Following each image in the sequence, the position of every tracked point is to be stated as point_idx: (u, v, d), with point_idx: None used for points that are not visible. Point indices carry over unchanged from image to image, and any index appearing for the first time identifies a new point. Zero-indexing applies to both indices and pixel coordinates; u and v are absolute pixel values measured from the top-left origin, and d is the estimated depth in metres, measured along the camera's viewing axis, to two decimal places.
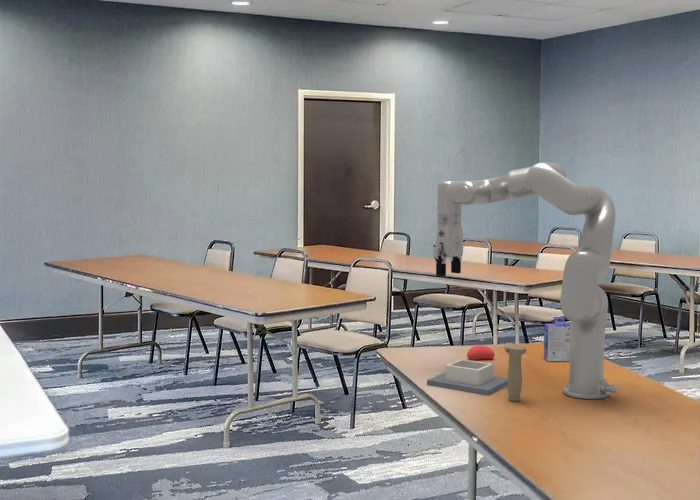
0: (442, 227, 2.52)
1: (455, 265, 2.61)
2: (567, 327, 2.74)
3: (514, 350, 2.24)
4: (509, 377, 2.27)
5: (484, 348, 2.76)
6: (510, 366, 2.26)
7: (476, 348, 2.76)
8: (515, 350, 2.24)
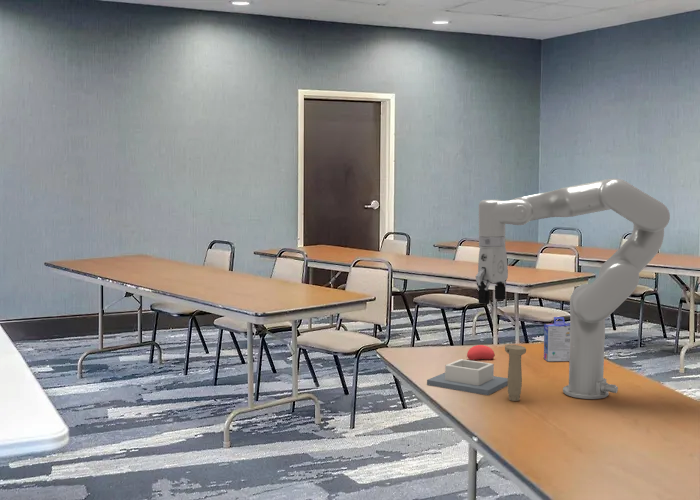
0: (484, 250, 2.31)
1: (499, 291, 2.40)
2: (567, 327, 2.74)
3: (514, 350, 2.24)
4: (509, 377, 2.27)
5: (484, 348, 2.76)
6: (510, 366, 2.26)
7: (476, 348, 2.76)
8: (515, 350, 2.24)
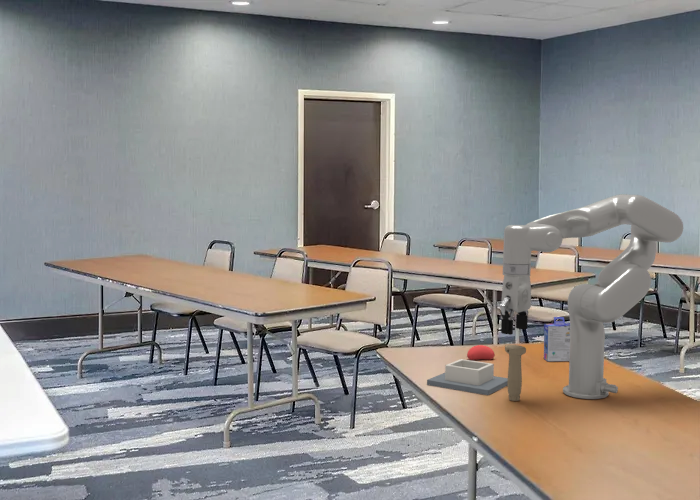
0: (509, 278, 2.21)
1: (521, 320, 2.30)
2: (567, 327, 2.74)
3: (514, 350, 2.24)
4: (509, 377, 2.27)
5: (484, 348, 2.76)
6: (510, 366, 2.26)
7: (476, 348, 2.76)
8: (515, 350, 2.24)
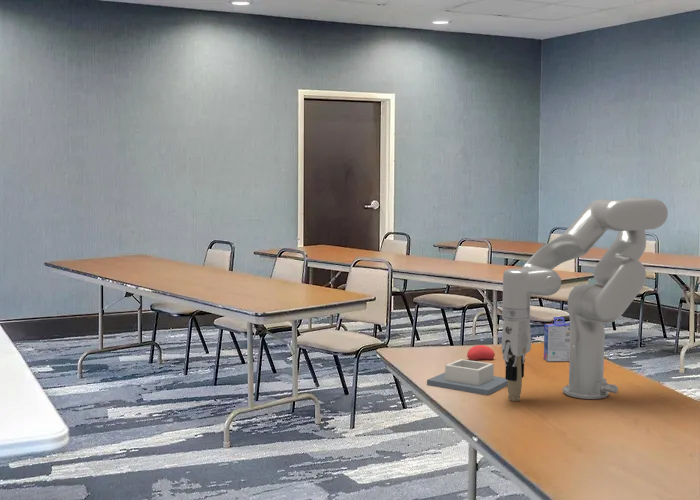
0: (509, 323, 2.22)
1: None
2: (567, 327, 2.74)
3: None
4: None
5: (484, 348, 2.76)
6: None
7: (476, 348, 2.76)
8: None
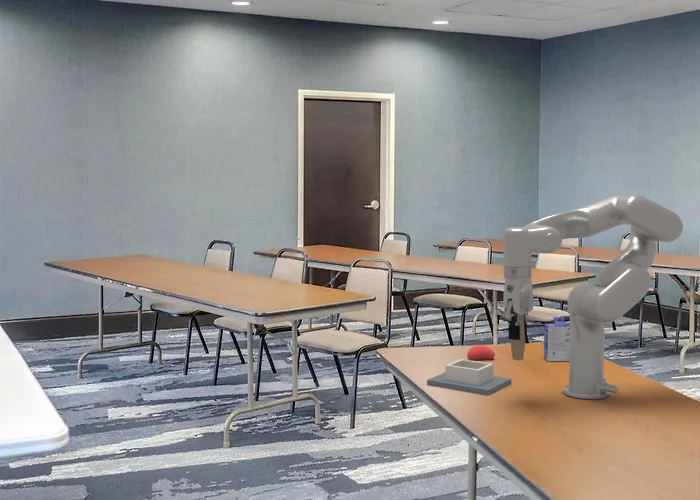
0: (511, 281, 2.21)
1: None
2: (567, 327, 2.74)
3: None
4: None
5: (484, 348, 2.76)
6: None
7: (476, 348, 2.76)
8: None
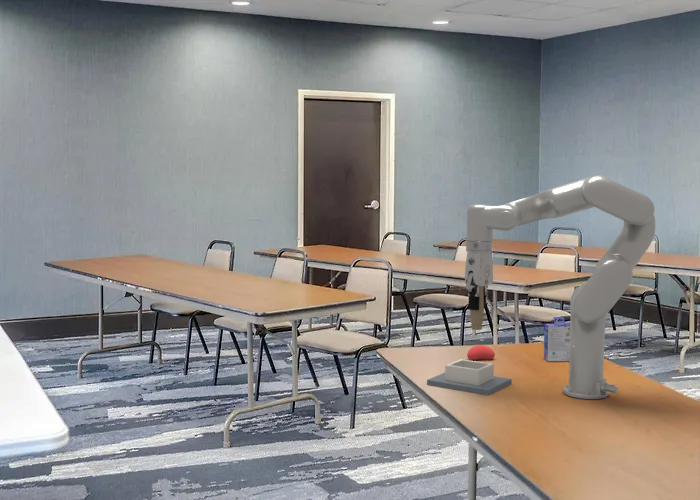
0: (472, 254, 2.34)
1: None
2: (567, 327, 2.74)
3: None
4: None
5: (484, 348, 2.76)
6: None
7: (476, 348, 2.76)
8: None
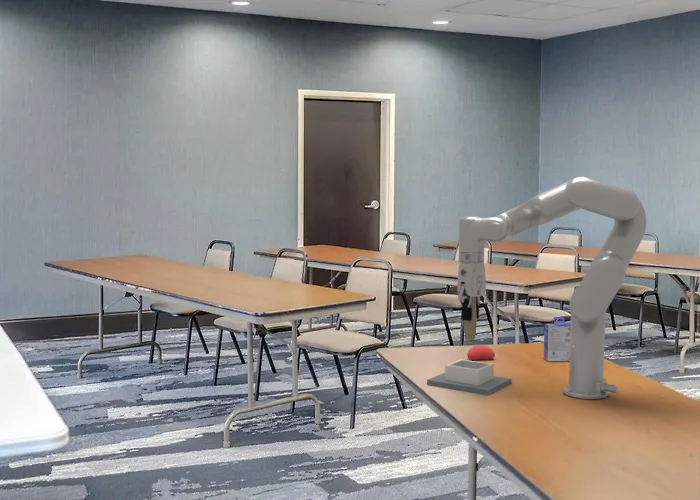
0: (464, 266, 2.38)
1: None
2: (567, 327, 2.74)
3: None
4: None
5: (484, 348, 2.76)
6: None
7: (476, 348, 2.76)
8: None
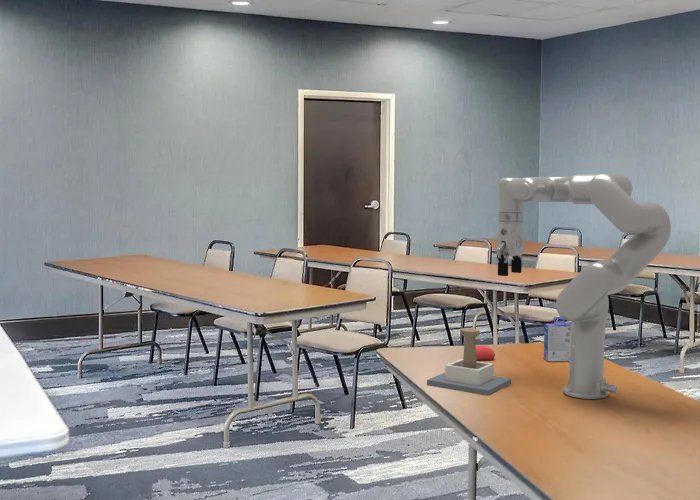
0: (504, 225, 2.45)
1: (516, 264, 2.53)
2: (567, 327, 2.74)
3: (468, 332, 2.41)
4: (464, 358, 2.43)
5: (485, 349, 2.76)
6: (466, 348, 2.43)
7: (477, 348, 2.75)
8: (469, 332, 2.41)
